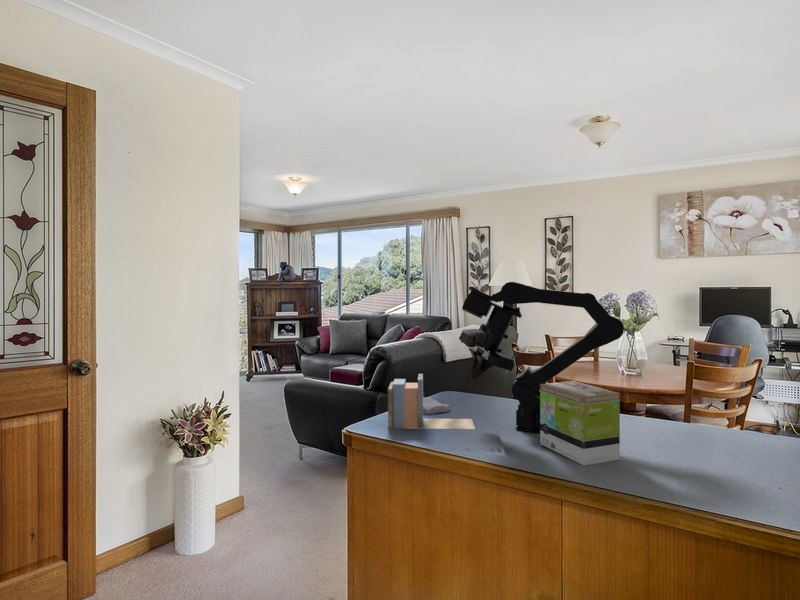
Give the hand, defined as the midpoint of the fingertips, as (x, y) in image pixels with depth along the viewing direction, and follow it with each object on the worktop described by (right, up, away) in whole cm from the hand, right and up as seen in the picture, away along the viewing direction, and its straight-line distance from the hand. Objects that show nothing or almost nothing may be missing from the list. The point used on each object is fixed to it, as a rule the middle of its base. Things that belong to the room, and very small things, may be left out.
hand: (472, 378), depth 135 cm
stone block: (-10, -13, +14) cm, 22 cm away
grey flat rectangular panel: (-14, -11, -3) cm, 18 cm away
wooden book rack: (-11, -13, -3) cm, 17 cm away
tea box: (+20, -13, -23) cm, 33 cm away
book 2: (-16, -11, -2) cm, 20 cm away
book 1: (-20, -11, -2) cm, 23 cm away
